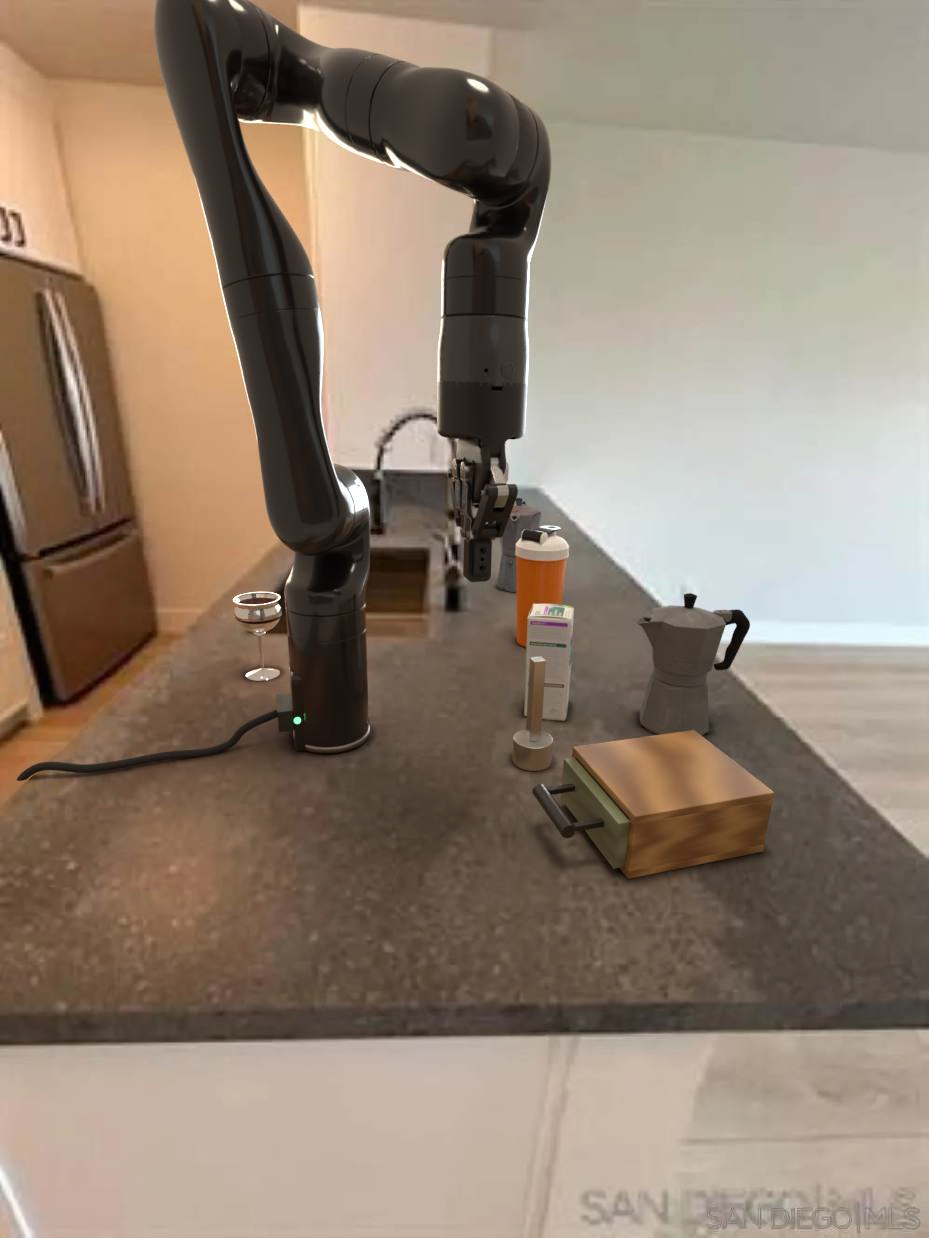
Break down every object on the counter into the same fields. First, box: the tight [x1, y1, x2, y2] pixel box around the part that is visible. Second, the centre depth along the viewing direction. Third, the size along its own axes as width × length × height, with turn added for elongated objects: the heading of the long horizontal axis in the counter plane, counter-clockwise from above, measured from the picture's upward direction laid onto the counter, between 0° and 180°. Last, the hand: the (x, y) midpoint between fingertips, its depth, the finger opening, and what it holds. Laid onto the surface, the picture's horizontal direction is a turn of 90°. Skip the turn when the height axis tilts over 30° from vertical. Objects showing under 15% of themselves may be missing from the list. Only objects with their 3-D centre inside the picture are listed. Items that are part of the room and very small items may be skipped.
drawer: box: [531, 756, 630, 870], centre depth 66 cm, size 18×11×5 cm, turn 107°
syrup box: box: [523, 604, 575, 722], centre depth 90 cm, size 6×6×14 cm
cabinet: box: [571, 730, 775, 880], centre depth 67 cm, size 15×13×7 cm
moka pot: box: [496, 497, 542, 593], centre depth 148 cm, size 10×15×20 cm, turn 171°
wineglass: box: [232, 591, 283, 682], centre depth 100 cm, size 7×7×12 cm
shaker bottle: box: [515, 525, 570, 648], centre depth 114 cm, size 9×9×20 cm
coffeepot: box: [636, 592, 751, 737], centre depth 87 cm, size 15×9×18 cm, turn 101°
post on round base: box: [511, 657, 554, 772], centre depth 78 cm, size 5×5×13 cm
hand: (476, 579), depth 62 cm, fingers closed
